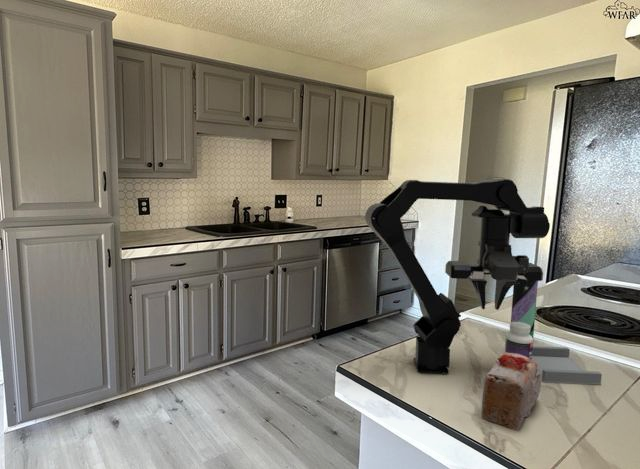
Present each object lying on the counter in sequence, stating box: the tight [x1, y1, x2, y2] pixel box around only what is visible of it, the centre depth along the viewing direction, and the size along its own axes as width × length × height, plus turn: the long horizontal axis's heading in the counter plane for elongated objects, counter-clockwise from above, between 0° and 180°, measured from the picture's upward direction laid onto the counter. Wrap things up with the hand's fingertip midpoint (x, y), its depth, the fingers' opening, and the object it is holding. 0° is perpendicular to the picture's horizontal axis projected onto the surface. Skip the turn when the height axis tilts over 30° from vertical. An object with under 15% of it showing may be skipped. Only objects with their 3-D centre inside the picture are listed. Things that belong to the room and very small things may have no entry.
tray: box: [532, 345, 603, 386], centre depth 87 cm, size 11×13×2 cm
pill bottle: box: [504, 321, 534, 360], centre depth 87 cm, size 5×5×10 cm
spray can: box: [509, 275, 539, 339], centre depth 103 cm, size 6×6×20 cm
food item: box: [481, 351, 543, 431], centre depth 71 cm, size 14×8×10 cm, turn 143°
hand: (489, 309), depth 87 cm, fingers open, 3 cm apart
